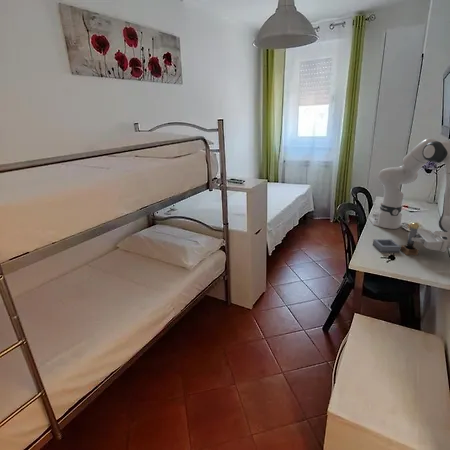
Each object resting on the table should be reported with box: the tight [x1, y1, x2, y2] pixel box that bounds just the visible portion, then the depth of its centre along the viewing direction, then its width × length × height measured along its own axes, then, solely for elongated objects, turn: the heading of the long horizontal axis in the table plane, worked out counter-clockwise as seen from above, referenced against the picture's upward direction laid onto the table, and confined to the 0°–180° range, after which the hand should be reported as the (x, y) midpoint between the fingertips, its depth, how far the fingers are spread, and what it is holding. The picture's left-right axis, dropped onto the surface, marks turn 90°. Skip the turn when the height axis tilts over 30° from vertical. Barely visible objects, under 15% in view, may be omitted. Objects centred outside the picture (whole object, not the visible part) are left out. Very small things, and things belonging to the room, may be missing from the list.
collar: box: [400, 244, 420, 256], centre depth 165 cm, size 6×6×3 cm
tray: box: [372, 238, 401, 254], centre depth 169 cm, size 10×10×4 cm
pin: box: [406, 222, 419, 249], centre depth 162 cm, size 4×4×16 cm
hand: (410, 237), depth 163 cm, fingers closed on pin, 3 cm apart
